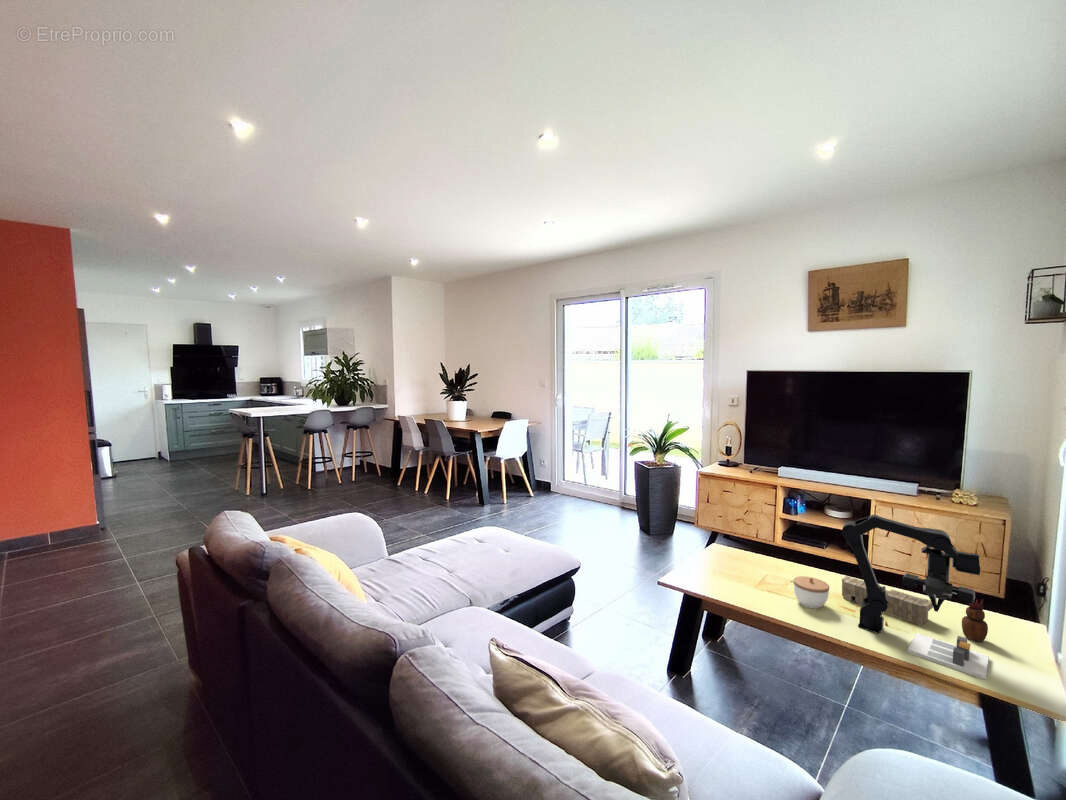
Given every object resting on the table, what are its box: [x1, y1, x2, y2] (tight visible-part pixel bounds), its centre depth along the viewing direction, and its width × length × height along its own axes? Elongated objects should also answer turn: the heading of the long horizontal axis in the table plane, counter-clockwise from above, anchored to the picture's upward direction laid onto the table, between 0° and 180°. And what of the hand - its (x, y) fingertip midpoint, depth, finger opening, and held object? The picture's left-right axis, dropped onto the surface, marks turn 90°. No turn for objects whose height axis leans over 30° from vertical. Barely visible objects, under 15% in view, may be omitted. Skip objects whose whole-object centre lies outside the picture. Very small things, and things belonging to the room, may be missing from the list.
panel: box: [907, 632, 990, 680], centre depth 156 cm, size 19×15×5 cm
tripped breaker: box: [959, 641, 971, 661], centre depth 153 cm, size 2×3×4 cm
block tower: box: [841, 575, 934, 626], centre depth 188 cm, size 8×8×29 cm
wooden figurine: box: [961, 598, 989, 642], centre depth 166 cm, size 7×6×15 cm
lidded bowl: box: [793, 575, 830, 610], centre depth 192 cm, size 13×13×11 cm
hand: (936, 611), depth 163 cm, fingers closed
